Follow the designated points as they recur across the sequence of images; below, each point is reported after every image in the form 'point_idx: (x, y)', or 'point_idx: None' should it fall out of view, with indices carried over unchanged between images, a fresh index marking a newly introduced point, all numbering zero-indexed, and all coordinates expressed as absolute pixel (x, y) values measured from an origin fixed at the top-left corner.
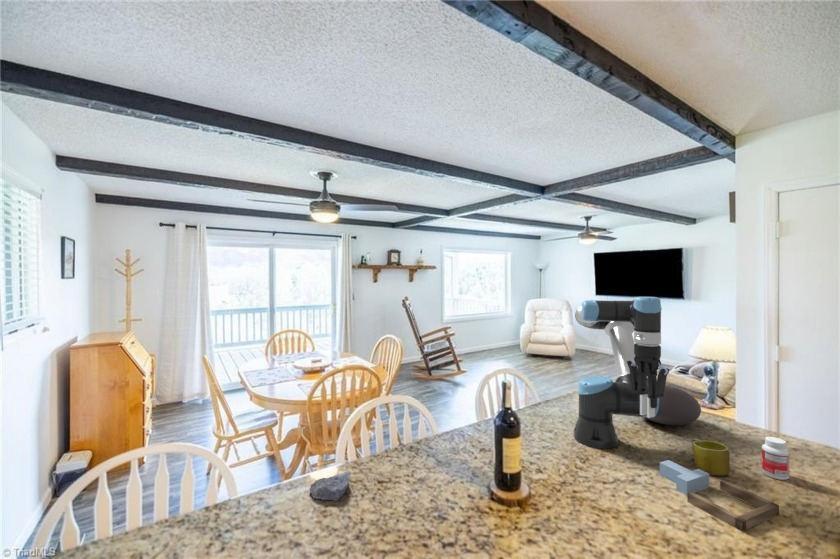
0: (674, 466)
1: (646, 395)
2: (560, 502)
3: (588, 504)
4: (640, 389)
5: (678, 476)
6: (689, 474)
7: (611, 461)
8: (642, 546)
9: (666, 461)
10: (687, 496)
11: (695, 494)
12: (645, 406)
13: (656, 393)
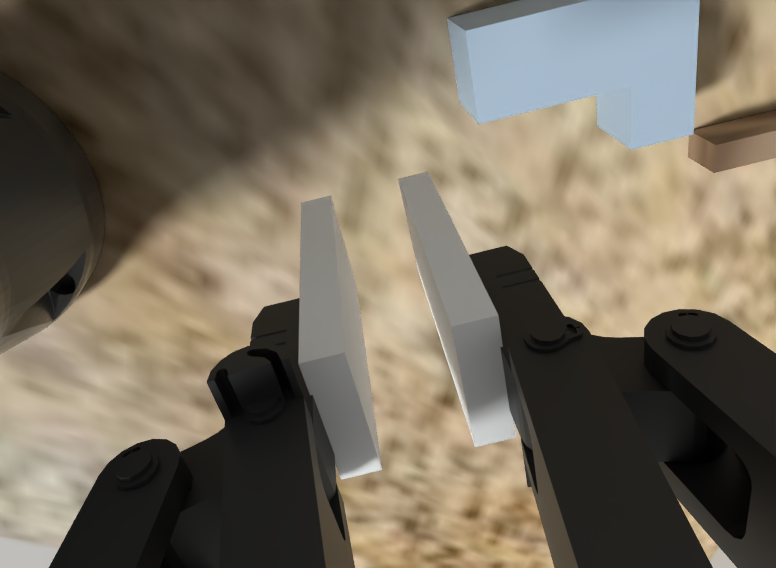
0: (547, 63)
1: (353, 371)
2: (513, 565)
3: None
4: (353, 565)
5: (640, 140)
6: (652, 49)
7: (271, 271)
8: None
9: (478, 63)
10: (702, 165)
11: (741, 145)
12: (346, 285)
13: (711, 495)
